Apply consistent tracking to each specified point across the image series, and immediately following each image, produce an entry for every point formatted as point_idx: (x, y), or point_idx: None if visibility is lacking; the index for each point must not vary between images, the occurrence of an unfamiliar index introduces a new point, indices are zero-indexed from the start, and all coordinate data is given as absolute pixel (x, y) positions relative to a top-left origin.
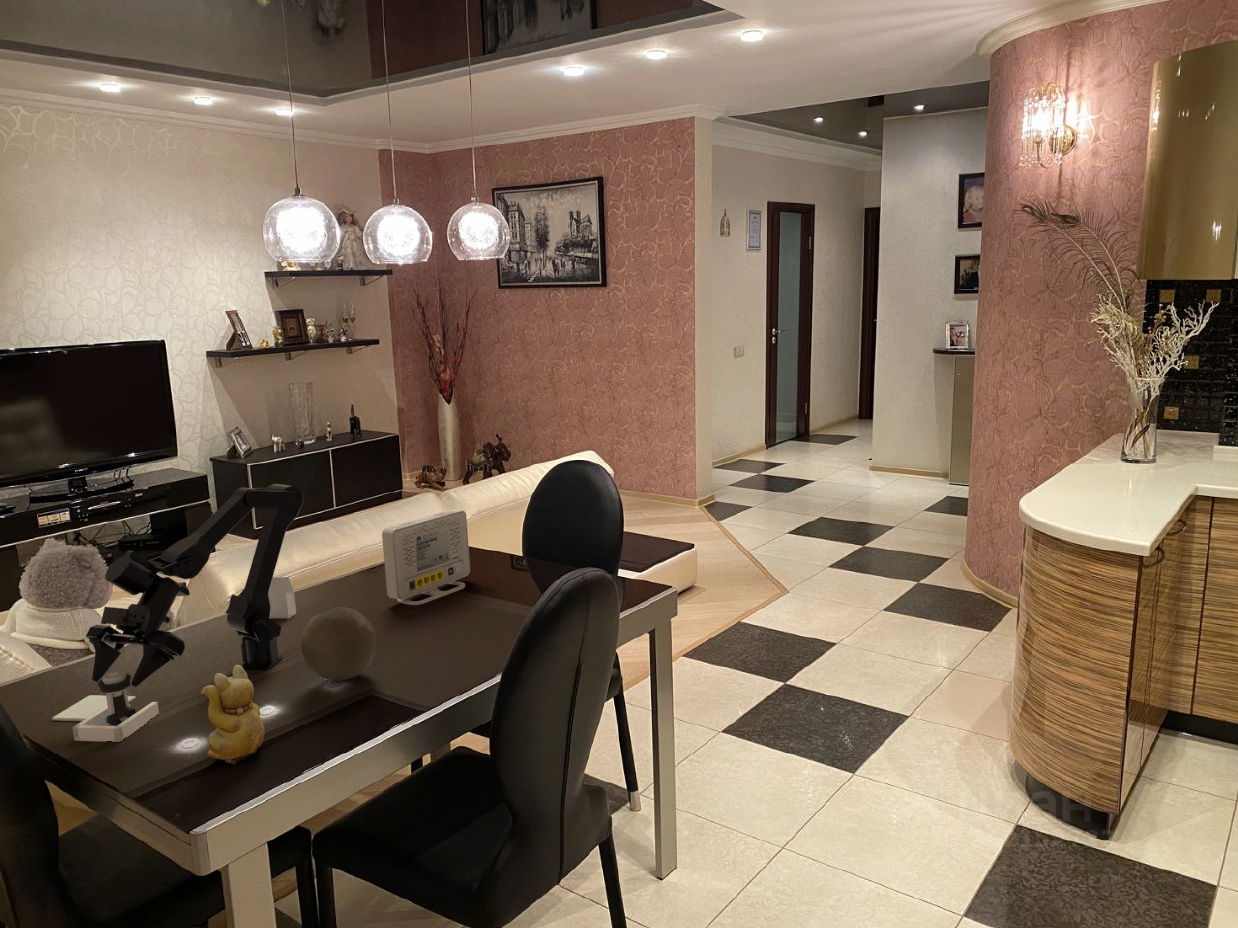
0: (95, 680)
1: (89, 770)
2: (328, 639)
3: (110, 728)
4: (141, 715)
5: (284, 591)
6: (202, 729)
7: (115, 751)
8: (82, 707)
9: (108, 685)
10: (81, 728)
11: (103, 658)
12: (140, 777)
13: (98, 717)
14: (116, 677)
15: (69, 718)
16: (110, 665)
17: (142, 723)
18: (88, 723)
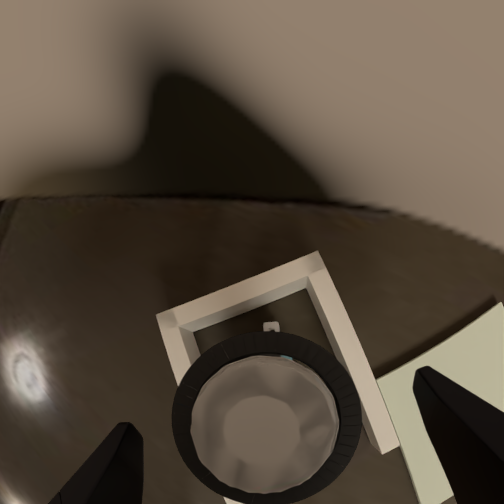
0: (414, 380)
1: (120, 201)
2: None
3: (182, 305)
4: None
5: None
6: (52, 441)
7: (137, 280)
8: (497, 384)
9: (211, 350)
10: (285, 264)
11: (489, 476)
12: (22, 237)
13: (340, 355)
14: (196, 407)
15: (464, 327)
16: (455, 494)
17: None
18: (320, 307)
